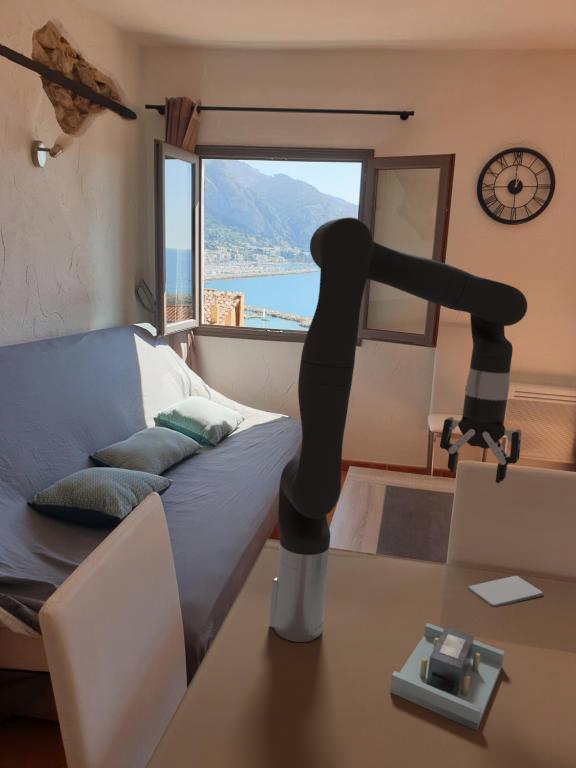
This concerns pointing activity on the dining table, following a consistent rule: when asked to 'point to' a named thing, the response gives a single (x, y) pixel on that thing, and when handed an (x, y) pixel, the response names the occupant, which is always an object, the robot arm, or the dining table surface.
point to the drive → (450, 660)
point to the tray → (457, 708)
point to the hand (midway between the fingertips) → (475, 476)
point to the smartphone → (505, 591)
